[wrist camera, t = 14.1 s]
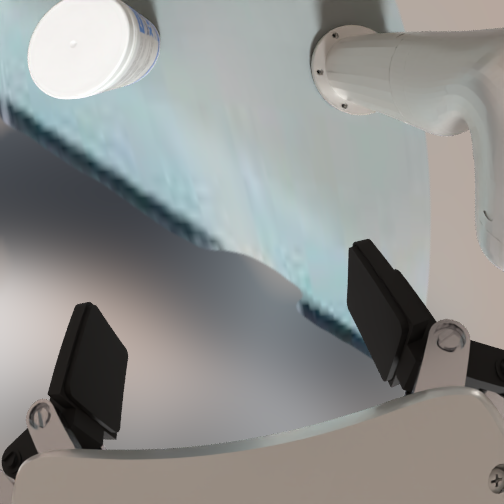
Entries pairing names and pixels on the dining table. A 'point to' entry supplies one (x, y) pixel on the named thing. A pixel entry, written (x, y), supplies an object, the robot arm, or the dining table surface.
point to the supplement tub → (91, 48)
